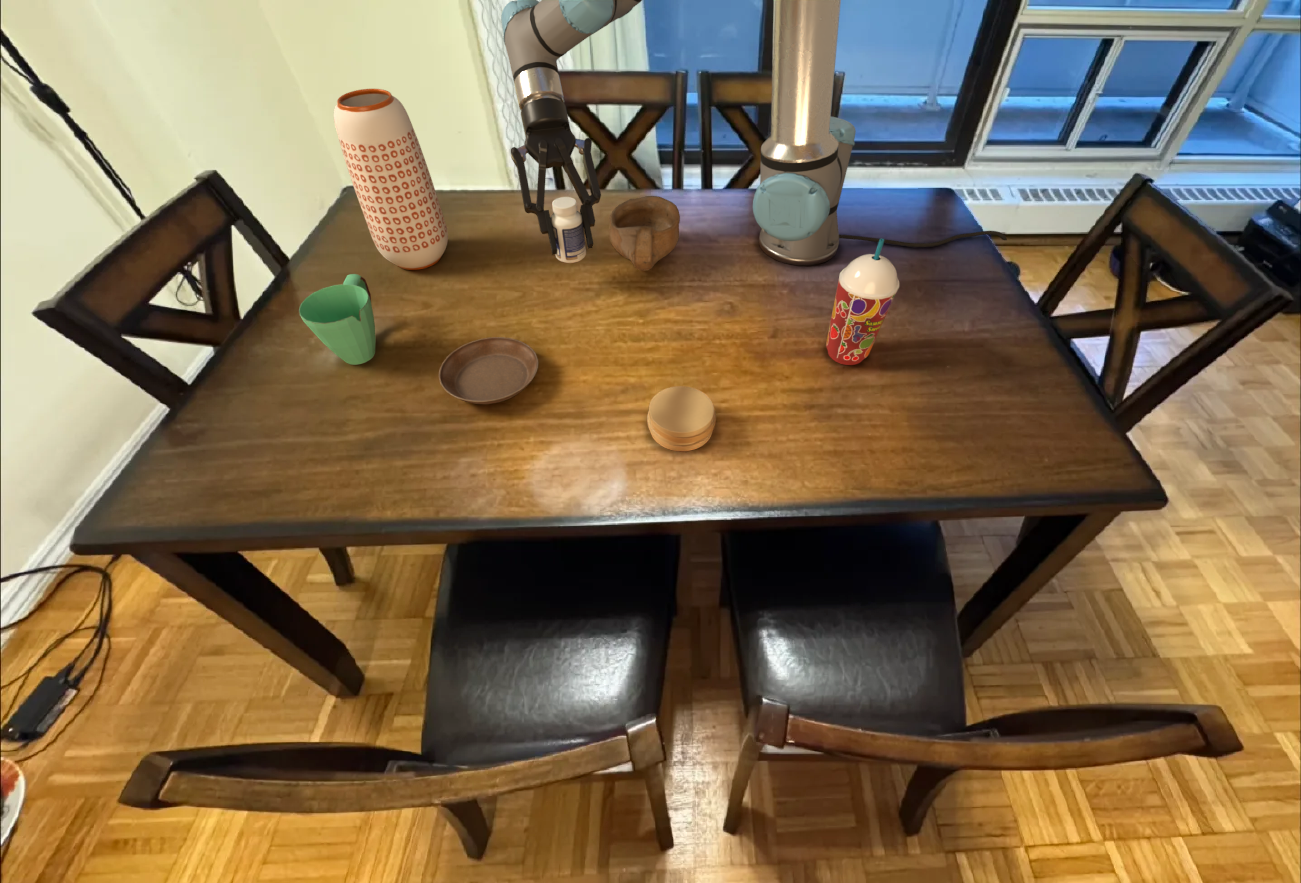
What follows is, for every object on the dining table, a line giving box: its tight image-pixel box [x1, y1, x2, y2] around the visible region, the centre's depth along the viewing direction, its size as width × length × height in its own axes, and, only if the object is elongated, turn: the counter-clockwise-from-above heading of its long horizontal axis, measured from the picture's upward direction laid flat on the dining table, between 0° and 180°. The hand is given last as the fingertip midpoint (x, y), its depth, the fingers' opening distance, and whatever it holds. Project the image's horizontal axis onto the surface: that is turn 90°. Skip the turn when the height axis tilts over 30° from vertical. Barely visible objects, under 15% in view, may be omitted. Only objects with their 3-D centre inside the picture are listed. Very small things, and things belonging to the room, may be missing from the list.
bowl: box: [608, 195, 681, 271], centre depth 110 cm, size 18×14×10 cm
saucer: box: [438, 336, 539, 405], centre depth 89 cm, size 15×15×3 cm
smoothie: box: [825, 238, 900, 366], centre depth 86 cm, size 8×8×20 cm
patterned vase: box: [333, 88, 449, 271], centre depth 103 cm, size 13×13×28 cm
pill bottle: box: [550, 196, 587, 264], centre depth 99 cm, size 5×5×10 cm
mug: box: [298, 273, 377, 366], centre depth 92 cm, size 15×10×10 cm
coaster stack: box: [646, 385, 717, 452], centre depth 82 cm, size 10×10×4 cm
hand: (572, 249), depth 98 cm, fingers closed on pill bottle, 5 cm apart
